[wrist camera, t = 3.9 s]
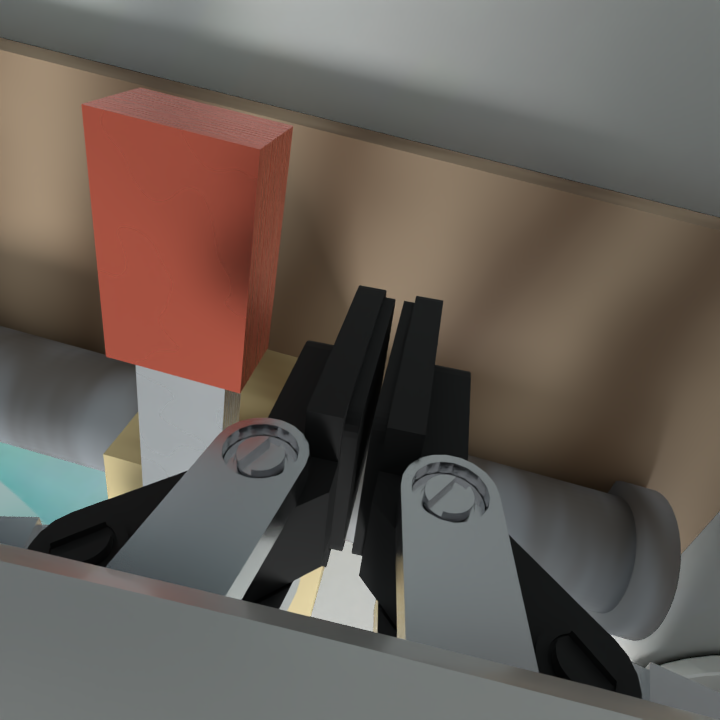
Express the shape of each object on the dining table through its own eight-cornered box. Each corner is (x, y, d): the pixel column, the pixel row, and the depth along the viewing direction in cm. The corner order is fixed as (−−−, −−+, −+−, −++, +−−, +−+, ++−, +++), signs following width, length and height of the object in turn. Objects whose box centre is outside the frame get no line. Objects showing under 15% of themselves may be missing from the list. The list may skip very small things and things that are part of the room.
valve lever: (245, 629, 18) (226, 680, 17) (151, 602, 18) (125, 650, 17) (311, 130, 9) (280, 155, 8) (123, 82, 9) (60, 98, 8)
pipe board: (891, 260, 17) (1227, 485, 9) (622, 585, 27) (676, 819, 20) (-179, -8, 19) (-647, -5, 11) (-51, 395, 29) (-245, 542, 21)
